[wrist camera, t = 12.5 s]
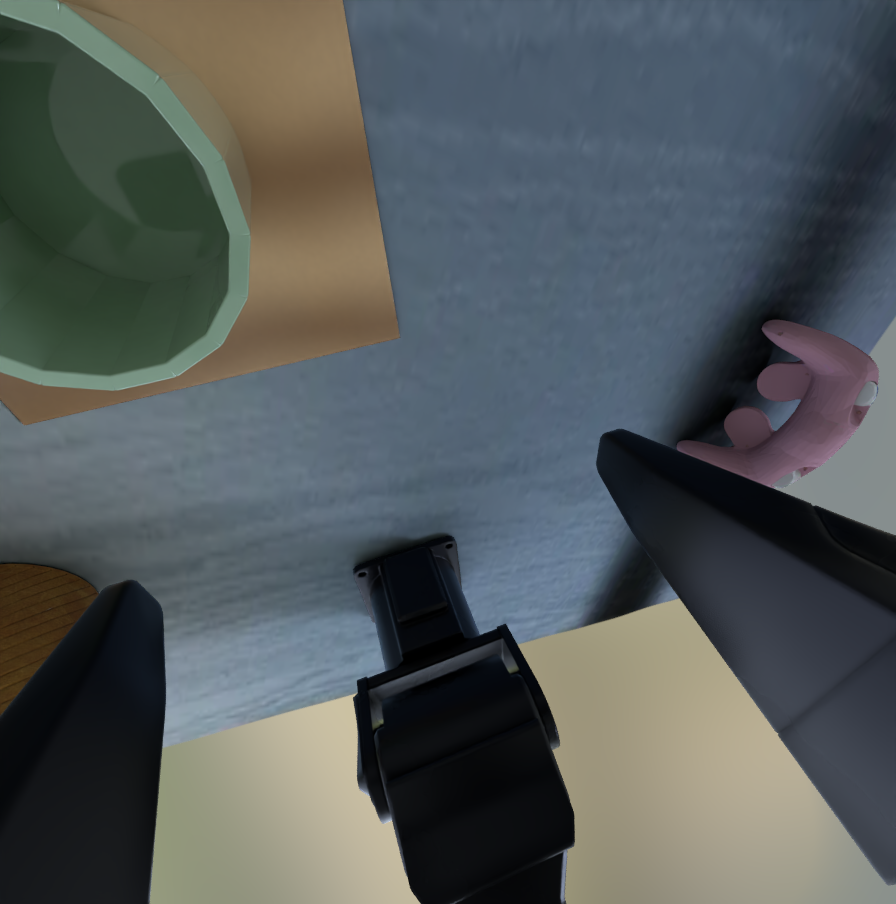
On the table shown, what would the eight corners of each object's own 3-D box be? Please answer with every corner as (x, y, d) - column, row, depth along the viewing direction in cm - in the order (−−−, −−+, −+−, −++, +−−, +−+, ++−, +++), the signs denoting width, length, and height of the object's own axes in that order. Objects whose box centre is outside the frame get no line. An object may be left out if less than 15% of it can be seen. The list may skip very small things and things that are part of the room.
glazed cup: (279, 264, 16) (292, 350, 11) (70, 305, 14) (-18, 422, 10) (190, -8, 11) (145, -59, 6) (-124, 19, 10) (-459, -21, 5)
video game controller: (686, 440, 33) (784, 499, 30) (666, 455, 29) (774, 524, 26) (782, 310, 27) (915, 366, 24) (770, 311, 24) (922, 376, 21)
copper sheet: (399, 337, 19) (400, 337, 19) (25, 423, 16) (24, 425, 16) (295, -275, 9) (295, -277, 9) (-632, -293, 7) (-643, -298, 7)
